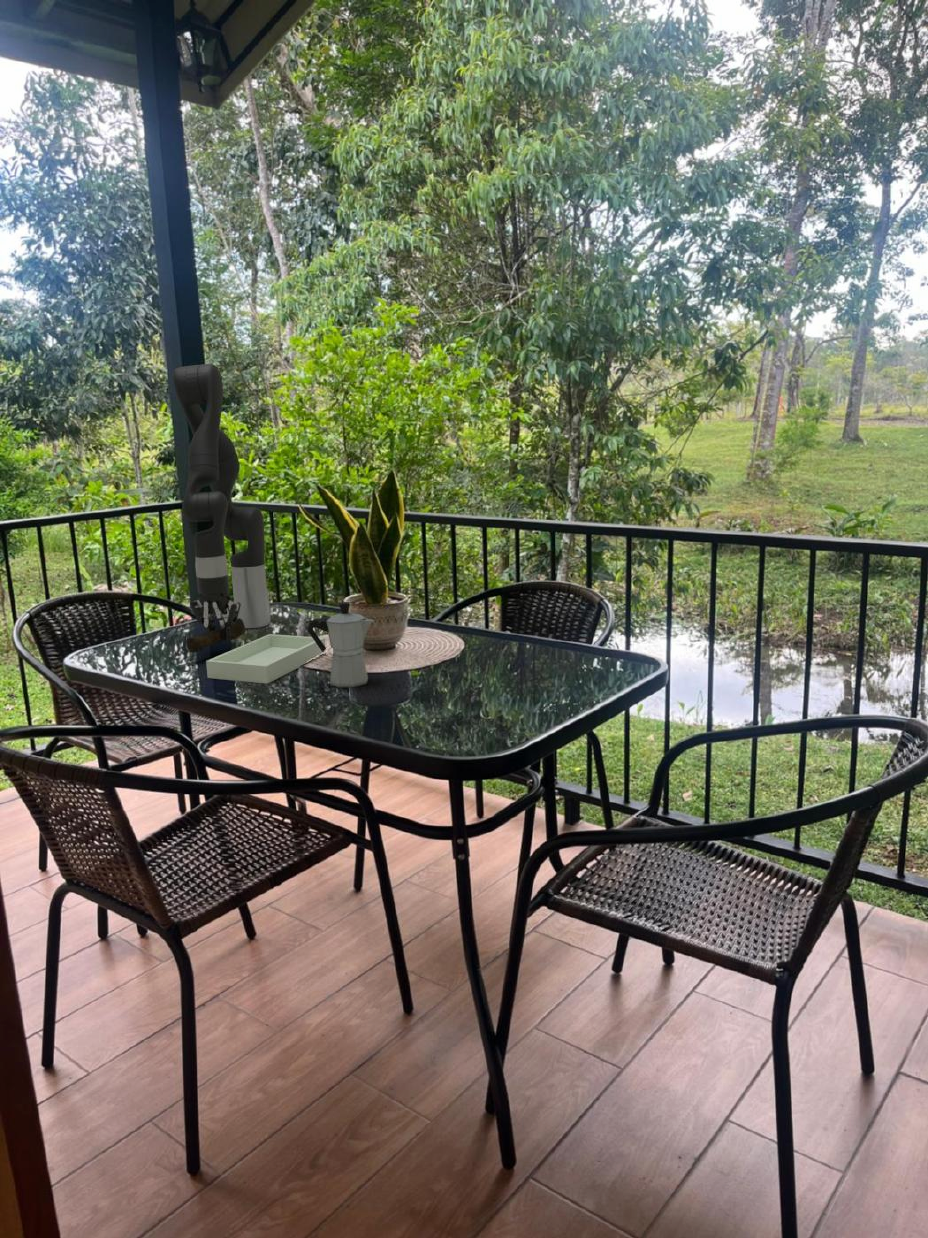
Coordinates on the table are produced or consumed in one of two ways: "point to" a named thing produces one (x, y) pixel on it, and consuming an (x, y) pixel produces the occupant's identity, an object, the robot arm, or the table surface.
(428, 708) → the table surface
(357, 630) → the coffee maker
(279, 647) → the tray
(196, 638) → the dark brown log
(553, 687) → the table surface
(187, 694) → the table surface
